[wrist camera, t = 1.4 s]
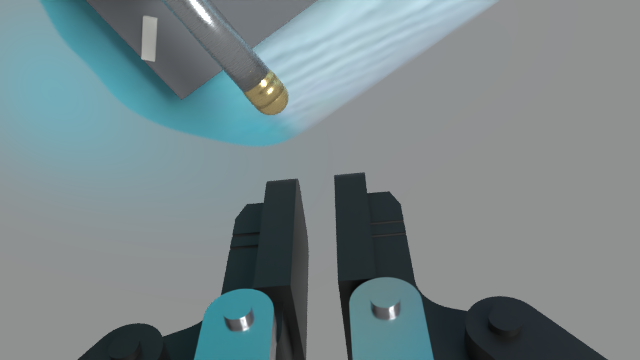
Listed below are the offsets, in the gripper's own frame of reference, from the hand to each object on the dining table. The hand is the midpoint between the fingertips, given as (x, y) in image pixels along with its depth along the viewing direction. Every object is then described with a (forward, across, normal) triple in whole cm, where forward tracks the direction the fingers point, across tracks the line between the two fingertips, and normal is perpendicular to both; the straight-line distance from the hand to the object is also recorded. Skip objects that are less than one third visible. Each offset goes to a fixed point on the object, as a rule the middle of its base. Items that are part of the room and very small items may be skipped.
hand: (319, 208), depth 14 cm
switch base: (+21, +6, -5) cm, 22 cm away
